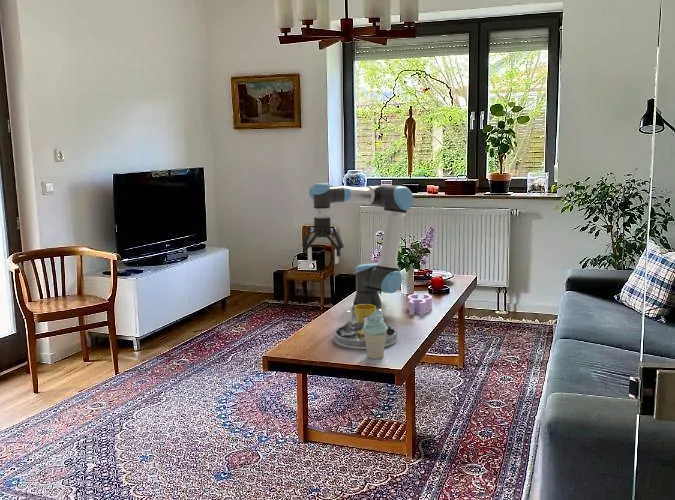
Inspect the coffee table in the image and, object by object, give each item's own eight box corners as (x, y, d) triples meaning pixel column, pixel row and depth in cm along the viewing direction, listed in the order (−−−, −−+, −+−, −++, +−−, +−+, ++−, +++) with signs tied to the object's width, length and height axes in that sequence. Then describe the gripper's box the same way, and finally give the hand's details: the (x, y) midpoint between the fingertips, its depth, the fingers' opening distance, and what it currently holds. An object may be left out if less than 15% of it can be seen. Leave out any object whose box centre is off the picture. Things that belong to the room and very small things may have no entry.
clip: (429, 316, 331) (429, 303, 330) (404, 315, 334) (404, 302, 333) (433, 306, 351) (433, 293, 349) (409, 305, 354) (409, 292, 352)
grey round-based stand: (344, 331, 305) (343, 308, 303) (358, 333, 302) (358, 309, 300) (338, 336, 298) (337, 312, 296) (352, 337, 296) (352, 313, 294)
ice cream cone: (357, 357, 274) (356, 310, 271) (375, 350, 282) (375, 304, 278) (375, 362, 267) (375, 314, 264) (394, 355, 275) (393, 308, 271)
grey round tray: (347, 327, 315) (346, 302, 313) (405, 333, 305) (405, 307, 302) (323, 345, 290) (322, 318, 288) (385, 352, 279) (385, 324, 277)
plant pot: (378, 323, 321) (378, 304, 319) (373, 330, 311) (373, 309, 309) (357, 322, 323) (357, 303, 322) (352, 328, 314) (351, 308, 312)
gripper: (294, 217, 308) (295, 262, 311) (344, 218, 298) (345, 265, 302) (301, 215, 314) (302, 259, 318) (350, 216, 305) (351, 262, 309)
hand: (323, 262), depth 310 cm, fingers open, 13 cm apart
